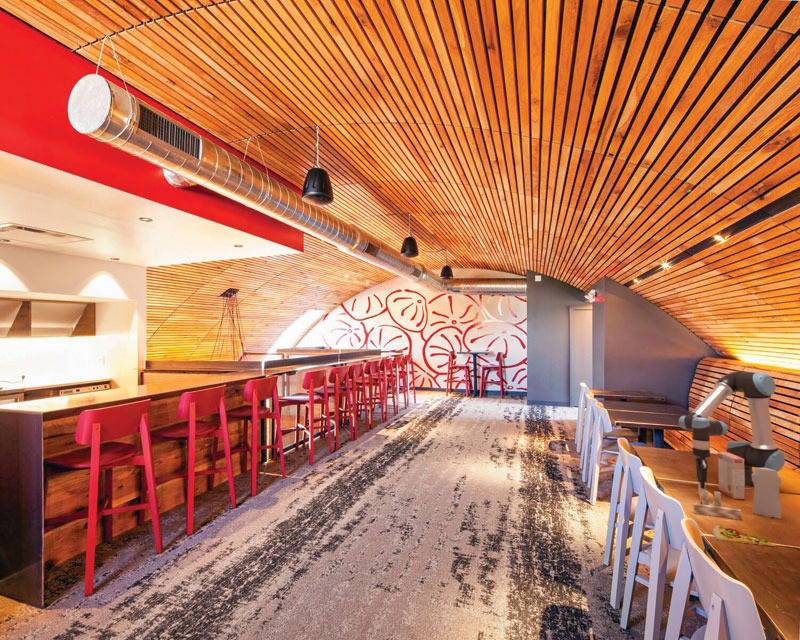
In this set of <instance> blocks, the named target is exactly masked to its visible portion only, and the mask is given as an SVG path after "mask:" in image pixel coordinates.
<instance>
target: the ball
mask: <svg viewBox="0 0 800 640" xmlns="http://www.w3.org/2000/svg"><path fill="white" fill-rule="evenodd" d="M699 500H700V501H701V502H702V492H701V493H700V494H699ZM709 502H711V503H712V504H713V503H715V498H714V494H712V493H711V492H710V491H708V503H709Z"/></svg>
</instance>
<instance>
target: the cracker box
mask: <svg viewBox="0 0 800 640" xmlns="http://www.w3.org/2000/svg"><path fill="white" fill-rule="evenodd" d="M717 456H718V459H717V460H718V463H717V464H718V465H717V466H718V491H719V492H721V493H722V494H723V493H724V494H725V495H726V496H728V497H730V498H731V499H734V500H743V499H744V500H746V493H745V492H746V487H745V486H746V485H745V475H744V459H743V458H740V457H738V456H736V455H734V454H731V453H728V452H727V451H726V452H725V451H718V453H717Z"/></svg>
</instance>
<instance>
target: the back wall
mask: <svg viewBox="0 0 800 640" xmlns="http://www.w3.org/2000/svg"><path fill="white" fill-rule="evenodd" d="M693 513H694V515H695V514H696V515H702V514H703V516H709V515H711V516H710V517H717V516H718V518H724V517H725V518H726V519H731V518H733V519H732V520H738V519H741V520H740V521H742V519H743V518H742V517H743V515H742V510H741V509H739V508H730V507H725V506H721V507H718V506H715V505H714V506H710V505H702V504H701V503H693Z"/></svg>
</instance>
